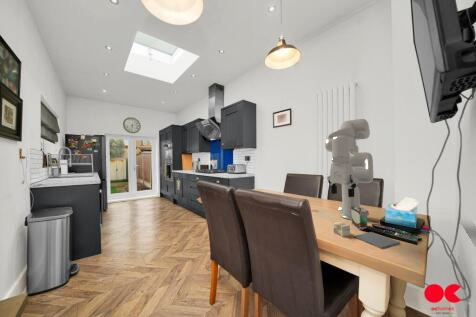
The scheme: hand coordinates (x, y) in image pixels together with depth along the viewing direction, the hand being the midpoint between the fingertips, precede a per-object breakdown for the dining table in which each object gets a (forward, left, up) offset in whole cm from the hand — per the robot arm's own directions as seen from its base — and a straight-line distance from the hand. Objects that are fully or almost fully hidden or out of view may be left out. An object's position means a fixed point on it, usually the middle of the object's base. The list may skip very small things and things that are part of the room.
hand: (342, 195), depth 89 cm
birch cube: (-1, 0, -20) cm, 20 cm away
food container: (-3, +17, -20) cm, 26 cm away
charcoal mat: (+10, +8, -20) cm, 23 cm away
